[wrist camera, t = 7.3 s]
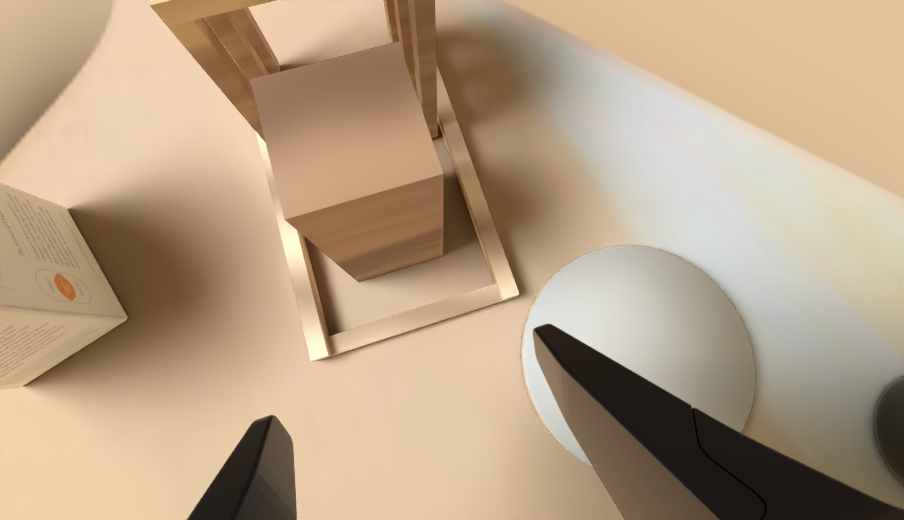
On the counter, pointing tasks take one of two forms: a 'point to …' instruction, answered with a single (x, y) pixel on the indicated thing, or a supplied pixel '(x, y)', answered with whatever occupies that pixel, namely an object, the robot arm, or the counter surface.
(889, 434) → the supplement bottle
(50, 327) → the small box
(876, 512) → the robot arm
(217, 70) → the wooden toy stool
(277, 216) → the track
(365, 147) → the walnut block
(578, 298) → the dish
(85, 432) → the counter surface
